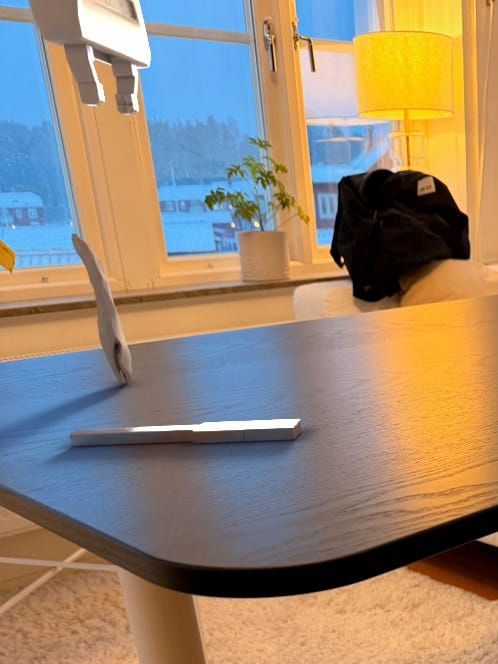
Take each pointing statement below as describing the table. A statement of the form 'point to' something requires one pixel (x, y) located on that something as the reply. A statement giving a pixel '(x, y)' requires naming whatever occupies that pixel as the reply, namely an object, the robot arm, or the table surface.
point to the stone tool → (106, 313)
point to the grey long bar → (191, 433)
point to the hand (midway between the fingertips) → (112, 110)
